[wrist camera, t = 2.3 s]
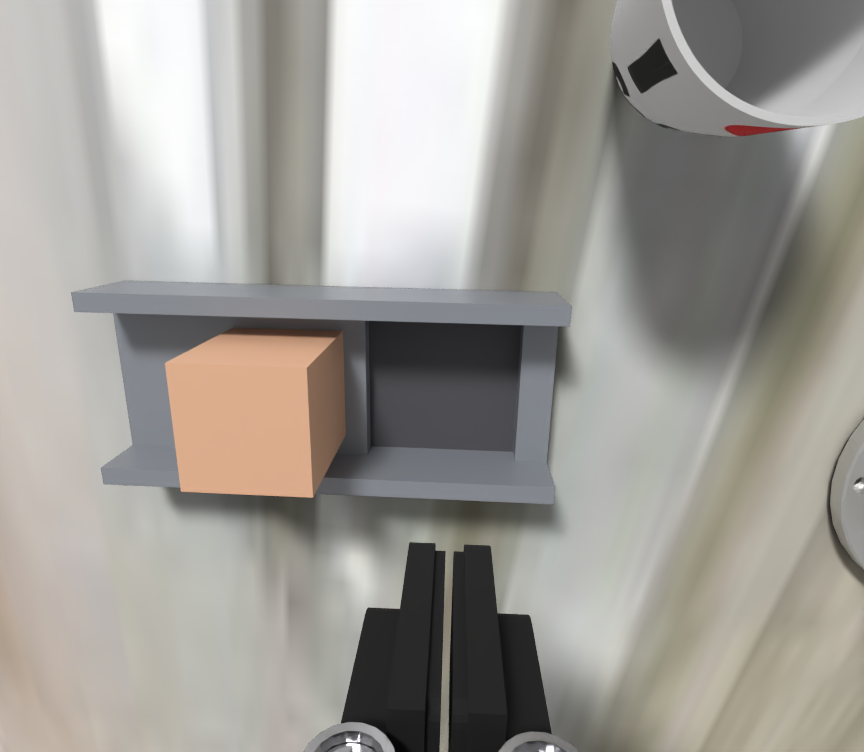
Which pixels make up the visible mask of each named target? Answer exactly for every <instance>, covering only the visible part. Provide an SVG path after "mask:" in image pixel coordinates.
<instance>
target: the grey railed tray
mask: <svg viewBox="0 0 864 752" xmlns="http://www.w3.org/2000/svg"><path fill="white" fill-rule="evenodd" d="M71 295H72V301H73V307H74V312H94V313H113V315H114V322H115V329H116V335H117V342H118V349H119V356H120V362H121V369H122V376H123V382H124V389H125V396H126V403H127V409H128V416H129V423H130V429H131V436H132V443H133V445H132V446H131V447H129V448H128V449H127V450H125V451H124V452H122V453H121V454H120V455H118V456H117V457H115V458H114V459H113V460H111V461H110V462H108V463H107V464H106V465H104V466H103V467H101V472H102V478H103V484H110V485H133V486H155V487H177V488H180V480H179V472H178V465H177V457H176V449H175V441H174V433H173V425H172V417H171V409H170V401H169V393H168V385H167V377H166V369H165V363H166V362H168V361H169V360H171V359H173V358H175V357H177V356H179V355H181V354H183V353H185V352H187V351H189V350H191V349H193V348H195V347H196V346H198V345H200V344H202V343H204V342H206V341H208V340H210V339H212V338H214V337H216V336H218V335H220V334H222V333H223V332H225V331H227V330H229V329H231V328H233V327H235V328H268V329H300V330H333V331H343V347H344V383H345V419H346V435H345V437H344V439H343V441H342V443H341V445H340V447H339V449H338V451H337V453H336V454H335V456H334V458H333V460H332V462H331V464H330V466H329V468H328V470H327V472H326V474H325V476H324V477H323V479H322V481H321V483H320V485H319V487H318V489H317V491H316V493H315V494H334V495H356V496H378V497H401V498H423V499H445V500H468V501H490V502H512V503H535V504H554V494H555V486H554V483H553V480H552V477H551V473H550V470H549V467H548V464H547V454H548V442H549V431H550V419H551V408H552V396H553V385H554V373H555V362H556V350H557V338H558V327H559V326H566V327H570V322H571V311H572V306H571V305H570V304H569V303H568V302H567V301H566V300H565V299H563V298H562V297H561V296H560V295H559V294H558V293H557V292H525V291H488V290H450V289H413V288H376V287H338V286H301V285H264V284H227V283H189V282H152V281H121V282H116V283H112V284H107V285H103V286H98V287H93V288H89V289H84V290H79V291H75V292H71Z"/></svg>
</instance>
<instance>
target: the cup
mask: <svg viewBox="0 0 864 752" xmlns="http://www.w3.org/2000/svg"><path fill="white" fill-rule="evenodd" d="M610 46H611V58H612V64H613V68H614V72H615V75H616V78H617V81H618V84H619V87H620V89H621V91H622V93H623V94H624V96H625V97H626V99H627V100H628V101H629V102H630V103H631V104H632V106H633V107H634V108H635V109H636V110H637V111H638V112H639V113H641V114H642V115H643V116H644V117H646V118H647V119H649V120H650V121H652V122H654V123H655V124H657V125H660V126H662V127H665V128H668V129H671V130H675V131H682V132H690V133H699V134H707V135H716V136H732V137H733V136H747V135H754V134H762V133H769V132H776V131H784V130H791V129H798V128H806V127H813V126H820V125H828V124H835V123H840V122H845V121H849V120H853V119H856V118H860V117H863V116H864V0H618V1H617V5H616V8H615V12H614V16H613V21H612V27H611V39H610Z"/></svg>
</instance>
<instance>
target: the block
mask: <svg viewBox="0 0 864 752" xmlns="http://www.w3.org/2000/svg"><path fill="white" fill-rule="evenodd" d="M165 369H166V377H167V385H168V393H169V401H170V409H171V417H172V425H173V433H174V441H175V449H176V457H177V465H178V472H179V480H180V488H181V492H199V493H221V494H243V495H265V496H287V497H309V498H313V497H314V495H315V493H316V491H317V489H318V487H319V485H320V483H321V481H322V479H323V477H324V476H325V474H326V472H327V470H328V468H329V466H330V464H331V462H332V460H333V458H334V456H335V454H336V453H337V451H338V449H339V447H340V445H341V443H342V441H343V439H344V437H345V435H346V419H345V383H344V347H343V331H333V330H300V329H268V328H235V327H233V328H231V329H229V330H227V331H225V332H223V333H222V334H220V335H218V336H216V337H214V338H212V339H210V340H208V341H206V342H204V343H202V344H200V345H198V346H196V347H195V348H193V349H191V350H189V351H187V352H185V353H183V354H181V355H179V356H177V357H175V358H173V359H171V360H169V361H168V362H166V363H165Z"/></svg>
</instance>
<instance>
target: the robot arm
mask: <svg viewBox="0 0 864 752" xmlns="http://www.w3.org/2000/svg"><path fill="white" fill-rule="evenodd" d="M830 507H831V514H832V521H833V525H834V528H835V530H836V533H837V535H838V538H839V540H840V543H841V544H842V546H843V547H844V548H845V550H846V551H847V553H848V554H849V555H850V557H851V558H852V559H853V560H854V561H855V562H856V563H857V564H858V565H859V566H860V567H861V568H862V569H863V570H864V420H863V421H862V422H861V423H860V425H859V426H858V427H857V429H856V430H855V431H854V432H853V434H852V435H851V437H850V438H849V440H848V442H847V444H846V446H845V448H844V450H843V452H842V453H841V455H840V457H839V460H838V463H837V466H836V469H835V473H834V476H833V479H832V486H831V498H830ZM444 582H445V551H435V543H411V542H410V543H409V549H408V556H407V563H406V570H405V578H404V585H403V592H402V599H401V606H400V609H386V608H368V609H367V610H366V614H365V618H364V622H363V627H362V631H361V636H360V640H359V645H358V649H357V654H356V658H355V663H354V667H353V672H352V676H351V681H350V685H349V690H348V694H347V699H346V703H345V707H344V712H343V716H342V721H341V724H338V725H334V726H332V727H330V728H328V729H326V730H324V731H322V732H320V733H319V734H318V735H317V736H316V737H315V738H314V739H313V740H312V741H310V742H309V743H308V745H307V747H306V748H305V750H304V751H303V752H439V745H440V713H441V681H442V649H443V615H444ZM448 752H579V751H578V750H577V749H576V748H575V747H574V746H573V745H571V744H570V743H568V742H566V741H565V740H563V739H562V738H560V737H558V736H555V735H552V733H551V728H550V722H549V717H548V711H547V706H546V700H545V695H544V689H543V683H542V678H541V672H540V667H539V661H538V656H537V650H536V645H535V639H534V633H533V628H532V623H531V618H530V616H529V615H519V614H497V605H496V595H495V585H494V575H493V565H492V555H491V547H490V546H485V545H464V552H454V559H453V587H452V616H451V644H450V682H449V750H448Z"/></svg>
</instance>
